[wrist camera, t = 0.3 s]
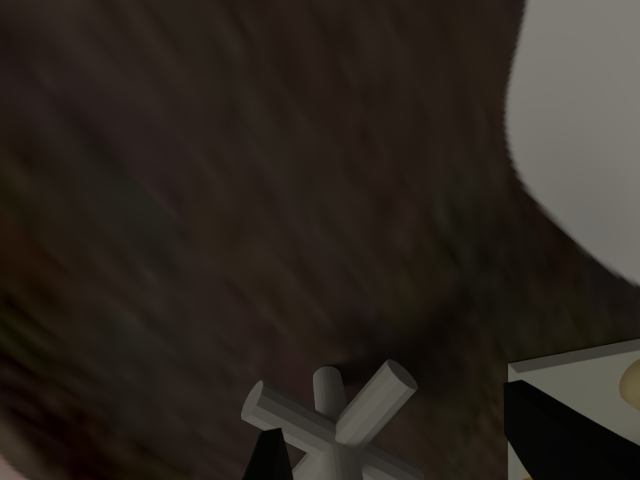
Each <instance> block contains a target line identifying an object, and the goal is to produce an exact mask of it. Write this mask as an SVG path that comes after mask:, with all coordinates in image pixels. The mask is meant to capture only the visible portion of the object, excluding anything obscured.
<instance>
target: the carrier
mask: <svg viewBox="0 0 640 480" xmlns="http://www.w3.org/2000/svg"><path fill="white" fill-rule="evenodd" d="M517 380H524V381H526V382H527V383H529V384H531V385H533V386H535V387H536V388H538V389H540V390H541V391H543V392H545V393H546V394H548V395H550V396H552V397H553V398H555V399H557V400H558V401H560V402H562V403H563V404H565V405H567V406H569V407H570V408H572V409H574V410H575V411H577V412H579V413H581V414H582V415H584V416H586V417H588V418H589V419H591V420H593V421H595V422H596V423H598V424H600V425H602V426H604V427H605V428H607V429H609V430H611V431H613V432H615V433H617V434H618V435H620V436H622V437H624V438H626V439H628V440H630V441H632V442H634V443H636V444H637V445H639V446H640V339H636V340H630V341H625V342H620V343H615V344H609V345H604V346H599V347H594V348H588V349H583V350H578V351H573V352H567V353H562V354H557V355H552V356H546V357H541V358H536V359H531V360H525V361H520V362H515V363H510V364H508V382H512V381H517ZM529 477H531V476H530V475H529V474H528V472H527V471H526V469H525V468H524V466H523V465H522V463H521V461H520V460H519V458H518V457H517V455H516V453H515V452H514V450H513V448H512V446H511V445H510V443H509V441H508V480H522V479H524V478H529Z"/></svg>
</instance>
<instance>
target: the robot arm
mask: <svg viewBox="0 0 640 480" xmlns="http://www.w3.org/2000/svg"><path fill="white" fill-rule="evenodd" d="M504 434H505V436H506V438H507V439H508V441H509V443H510V445H511V446H512V448H513V450H514V452H515V453H516V455H517V457H518V458H519V460H520V461H521V463H522V465H523V466H524V468H525V469H526V471H527V472H528V474H529V475H530V476H531V478H532V479H533V480H640V446H639V445H637V444H636V443H634V442H632V441H630V440H628V439H626V438H624V437H622V436H620V435H618V434H617V433H615V432H613V431H611V430H609V429H607V428H605V427H604V426H602V425H600V424H598V423H596V422H595V421H593V420H591V419H589V418H588V417H586V416H584V415H582V414H581V413H579V412H577V411H575V410H574V409H572V408H570V407H569V406H567V405H565V404H563V403H562V402H560V401H558V400H557V399H555V398H553V397H552V396H550V395H548V394H546V393H545V392H543V391H541V390H540V389H538V388H536V387H535V386H533V385H531V384H529V383H527V382H526V381H524V380H517V381H512V382H507V383H504ZM242 480H294V479H293V473H292V469H291V465H290V461H289V457H288V453H287V449H286V444H285V440H284V436H283V432H282V428H281V427H280V428H275V429H270V430H265V431H262V432H261V433H260V435H259V437H258V440H257V443H256V446H255V448H254V451H253V454H252V456H251V459H250V461H249V464H248V466H247V469H246V471H245V474H244V476H243V478H242Z"/></svg>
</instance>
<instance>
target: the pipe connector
mask: <svg viewBox="0 0 640 480" xmlns="http://www.w3.org/2000/svg"><path fill="white" fill-rule="evenodd" d="M313 386H314V397H315V407H316V410H315V409H313V408H311V407H310V406H308V405H306V404H304V403H302V402H300V401H299V400H297V399H295V398H293V397H291V396H289V395H288V394H286V393H284V392H282V391H280V390H279V389H277V388H275V387H273V386H271V385H269V384H268V383H266V382H264V381H259V382H258V383H257V384H256V385H255V386H254V387H253V389H252V390H251V392H250V393H249V395H248V397H247V399H246V401H245V403H244V406H243V410H242V413H241V419H243V420H245V421H247V422H249V423H251V424H253V425H254V426H256V427H258V428H260V429H262V430H264V431H265V430H270V429H275V428H280V427H281V428H282V432H283V436H284V440H285V441H286V442H288V443H290V444H292V445H294V446H296V447H298V448H300V449H302V450H303V451H305V452H307V454H306V455H305V456H304V457H303V459H302V460H301V461H300V462H299V463H298V464H297V466H296V467H295V468H294V469H293V470H292V473H293V479H294V480H424V476H423V472H422V471H421V469H420V468H419V466H417V465H415V464H413V463H412V462H410V461H408V460H406V459H404V458H402V457H401V456H399V455H397V454H395V453H393V452H392V451H390V450H388V449H386V448H384V447H382V446H381V445H379V444H377V443H375V442H373V441H371V440H372V439H373V438H374V437H375V436H376V435H377V434H378V432H379V431H380V430H381V429H382V428H383V427H384V426H385V425H386V424H387V422H388V421H389V420H390V419H391V418H392V417H393V416H394V415H395V413H396V412H397V411H398V410H399V409H400V408H401V407H402V406H403V405H404V403H405V402H406V401H407V400H408V399H409V398H410V397H411V396H412V395H413V393H414V392H415V391H416V390H417V389H418V386H417V383H416V381H415V380H414V379H413V377H412V376H411V375H410V374H409V372H408V371H407V370H406V369H405V368H404V367H402V366H401V365H400V364H398V363H397V362H395V361H393V360H391V359H389V360H387V361H386V362H385V363H384V364H383V365H382V366H381V368H380V369H379V370H378V371H377V372H376V373H375V375H374V376H373V377H372V378H371V379H370V380H369V382H368V383H367V384H366V385H365V386H364V387H363V389H362V390H361V391H360V392H359V393H358V394H357V396H356V397H355V398H354V399H353V400H352V401H351V403H350V404H349V405H347V401H346V396H345V392H344V387H343V382H342V378H341V374H340V372H339V371H338V370H337V369H336V368H334V367H332V366H324V367H321V368H319V369H318V370H317V371H316V372H315V373H314V376H313Z"/></svg>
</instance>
